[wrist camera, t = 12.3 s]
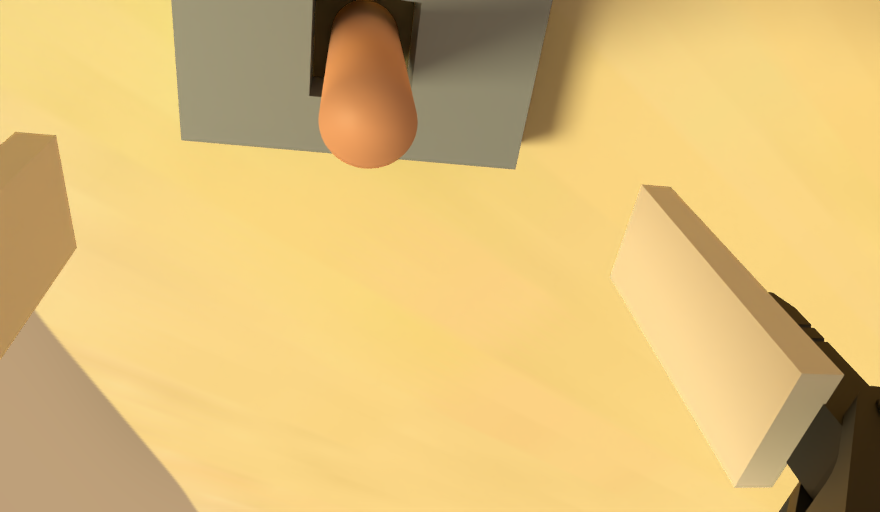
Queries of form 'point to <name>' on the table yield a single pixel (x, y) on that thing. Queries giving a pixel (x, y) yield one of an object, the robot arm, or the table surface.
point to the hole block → (299, 93)
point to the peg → (366, 89)
